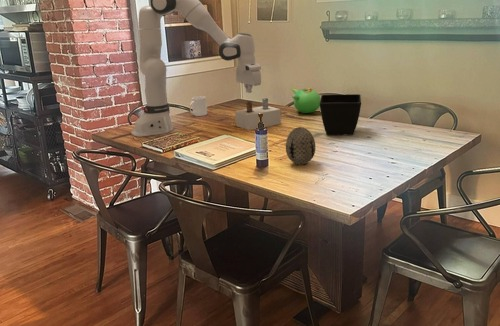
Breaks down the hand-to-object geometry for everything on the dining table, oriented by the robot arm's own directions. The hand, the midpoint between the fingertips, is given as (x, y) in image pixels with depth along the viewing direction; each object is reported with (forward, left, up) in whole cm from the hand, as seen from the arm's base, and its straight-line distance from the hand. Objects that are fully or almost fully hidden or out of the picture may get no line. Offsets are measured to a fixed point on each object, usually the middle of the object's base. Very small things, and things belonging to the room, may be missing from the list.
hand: (248, 92), depth 239 cm
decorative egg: (-16, -67, -18) cm, 71 cm away
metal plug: (+10, 0, -14) cm, 17 cm away
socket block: (+5, 0, -18) cm, 19 cm away
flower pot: (+27, -41, -18) cm, 52 cm away
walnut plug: (0, 0, -14) cm, 14 cm away
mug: (-10, +46, -18) cm, 51 cm away
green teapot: (+41, +5, -18) cm, 45 cm away
